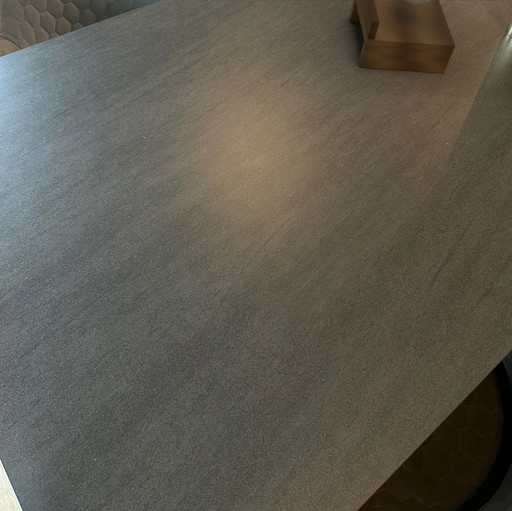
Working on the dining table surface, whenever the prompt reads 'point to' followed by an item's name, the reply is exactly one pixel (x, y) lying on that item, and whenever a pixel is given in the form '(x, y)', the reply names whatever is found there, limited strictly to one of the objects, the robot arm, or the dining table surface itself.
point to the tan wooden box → (403, 35)
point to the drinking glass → (417, 2)
